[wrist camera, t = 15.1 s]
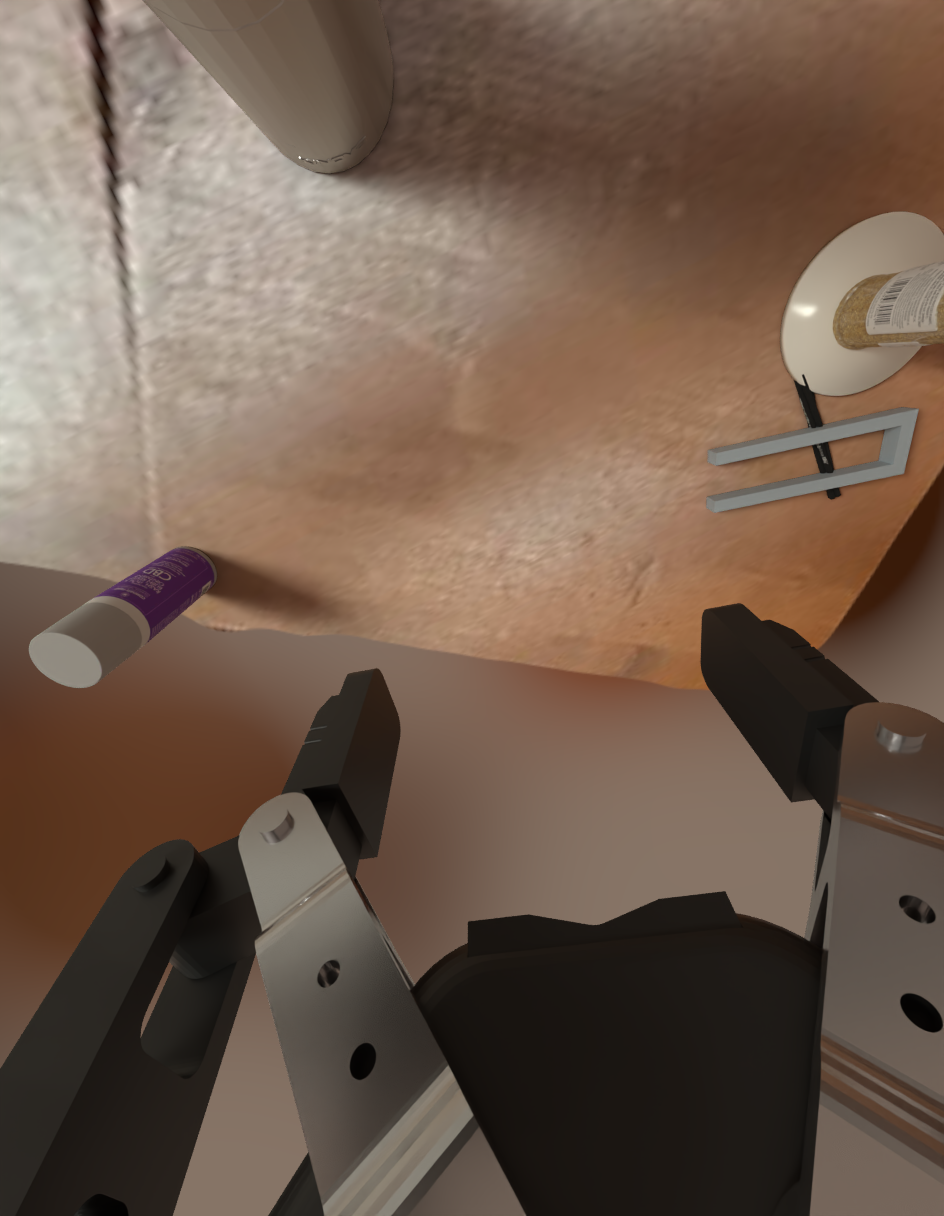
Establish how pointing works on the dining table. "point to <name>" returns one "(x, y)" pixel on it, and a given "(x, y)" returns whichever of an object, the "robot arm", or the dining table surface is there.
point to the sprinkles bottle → (893, 310)
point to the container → (122, 618)
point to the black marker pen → (813, 422)
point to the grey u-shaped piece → (890, 459)
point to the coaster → (826, 282)
